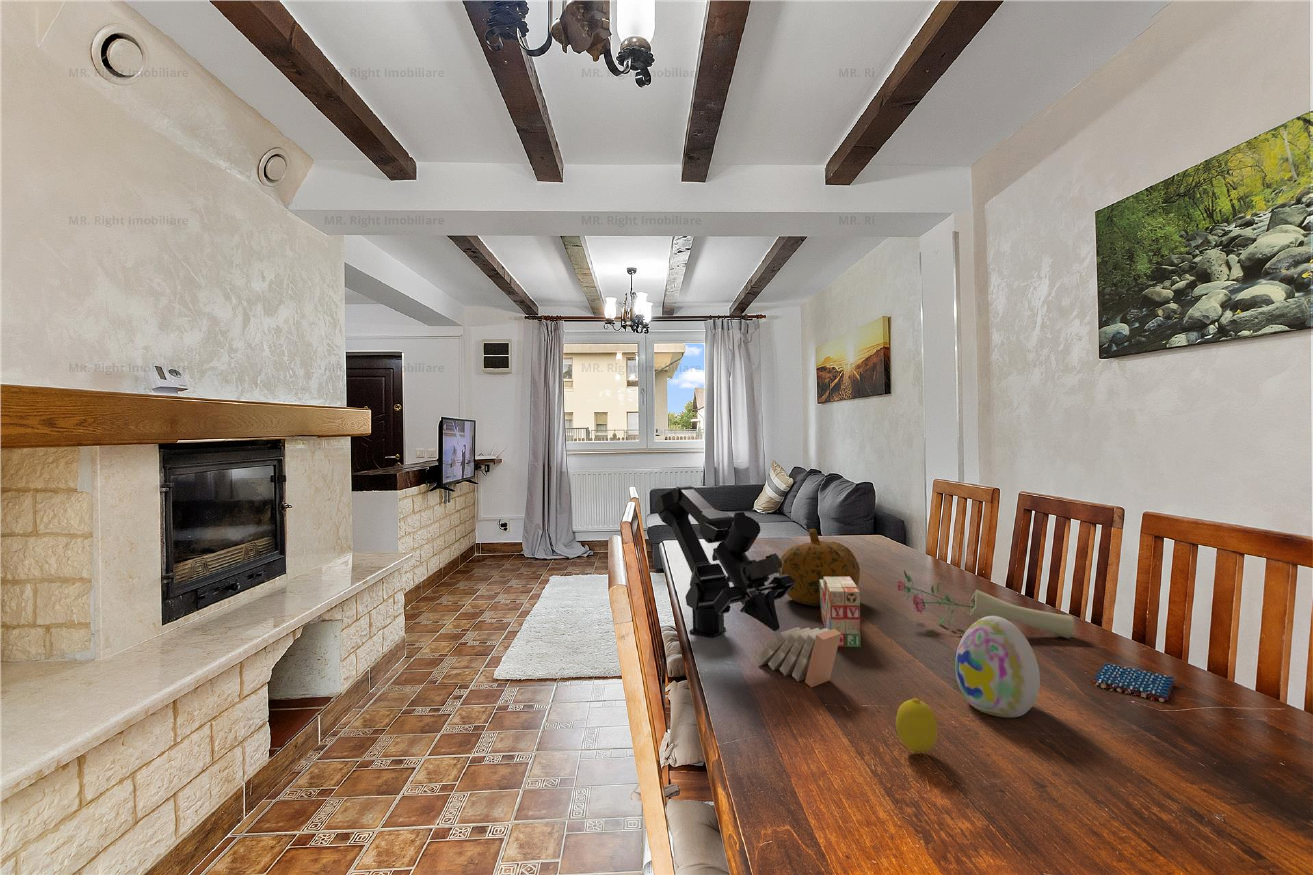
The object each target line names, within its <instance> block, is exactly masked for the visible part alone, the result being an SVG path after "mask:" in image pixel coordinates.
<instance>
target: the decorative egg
mask: <svg viewBox="0 0 1313 875" xmlns="http://www.w3.org/2000/svg"><path fill="white" fill-rule="evenodd" d="M957 646H958V647H957V648H956V649H957V650H956V655H955V659H954V660H955V661H954V662H955V663H954V666H955V667H954V668H955V669H954V670H955V677H956V681H957V685H958V687H959V690H960V692H961V693H962V695H963V696H964V699H966V700H967V702H968V704H970V706H971V707H973V708H974V709H976V710H977V711H979V712H981V713H984V714H986V715H989V716H994V717H999V718H1018V717H1022V716H1025V714H1026V713H1028V712H1029V711H1030V710H1031V708H1032V707H1033V706H1034V704H1035V703H1036V701H1037V699H1038V696H1039V692H1040V686H1041V685H1040V683H1041V675H1040V669H1039V668H1040V667H1039V664H1038V660H1037V658H1036V654H1035V652H1034V650H1033V648H1032V646H1031V644H1030V642H1029V641H1028V639H1027V638H1026V636H1025V635H1024V634H1023V633H1022V631H1021V630H1020V629H1019V628H1018V627H1017V626H1016V625H1014V624H1013V623H1012V621H1011V622H1010V620H1006V619H1004V618H1001V617H998V616H987V617H984V618H982V617H980V618H979V619H978V620H976V621H975V622H973V623H972V624H971V625H970V626H969V628H967V629H966V631H965V632H964V634H963V636H961V639H960V640H959V643H958V645H957Z"/></svg>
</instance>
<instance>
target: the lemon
mask: <svg viewBox="0 0 1313 875" xmlns="http://www.w3.org/2000/svg"><path fill="white" fill-rule="evenodd" d="M895 730H896V733H897V737H898V739H899V740H900V742H901V743H902V744H903V745H904V746H905V747H906V748H908V749H909V750H911V751H912V752H913V753H914V754H916V755H920V754H921V753H924V752H927V751H929V750H931V749H932V748H933V747H934V746H935V744H936V742H937V738H938V732H939V729H938V722H937V718H936V715H935V713H934V711H933V709H932V708H931V707H930V706H929V705H928V704H927V703H926V702H924V701H922V700H920V699H919V698H916V697H913V698H911V699H908V700H906V701H904V702H903V703H901V704H900V706H899V707H898V709H897V713H896V718H895Z"/></svg>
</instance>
